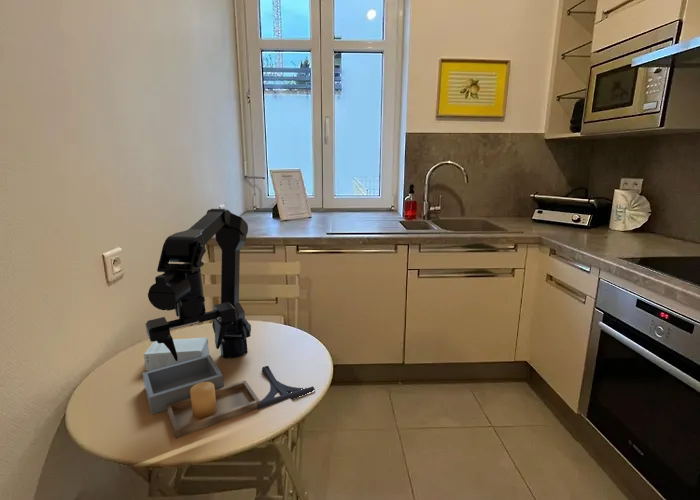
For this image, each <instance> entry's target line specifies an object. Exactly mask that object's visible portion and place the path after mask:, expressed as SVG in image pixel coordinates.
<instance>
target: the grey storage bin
mask: <svg viewBox="0 0 700 500" xmlns="http://www.w3.org/2000/svg"><path fill="white" fill-rule="evenodd" d="M142 378H143V385H144V392H145V393H146V398H147V403H148V406H149V410H150V413H151V415H155V414H158V413H162V412H164V411H167V408H166V405H169V404H172V403H176V402H179V401H182V400H185V399H188V398H191V394H190V389H191V388H192V387H193V386H194V385H196V384H198V383H201V382H211V383H213V384H214V387H215V390H216V389H219V388H223V387H225V385H224V384H225V383H224V375H223V374H222V372H221V370H220V368H219V367H218V365H217V364H216V362H215V360H214V359H213V357H212V356H211V354H209V355H206V356H203V357H199V358H195V359H192V360H188V361H184V362H181V363H177V364H173V365H170V366H166V367H162V368H159V369H155V370H151V371H144V372H142Z"/></svg>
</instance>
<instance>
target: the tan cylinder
mask: <svg viewBox="0 0 700 500" xmlns="http://www.w3.org/2000/svg"><path fill="white" fill-rule="evenodd" d="M190 394H191V403H192V411H193V417H194V418H196V419H199V420H201V419H204V418H207V417H210V416H213V415H214V414H215V413H216V412H217V406H216V397H215V387H214V384H213V383H211V382H201V383H198V384H196V385H194V386H193V387H192V388H191V389H190Z"/></svg>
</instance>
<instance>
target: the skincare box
mask: <svg viewBox="0 0 700 500" xmlns="http://www.w3.org/2000/svg"><path fill="white" fill-rule="evenodd" d="M208 339H209V338H208V337H207V336H206V337H191V338H177V339H176V338H175V339H173V342H174V345H175V349H176V353H177V356H178V361H176V360H175V359H174V357H173V355H172V354H171V352H170V350H169V349H168V348H167V347H166V346H165V344H164V343H160V344H159V343H157V341H155V342H152V343H151V345H150V346H149V347H148V348H147V350H146V351H145V352H144V354H143V358H144V359H143V360H144V368H145V369H144V370H145V372H148V371H151V370H155V369H159V368H162V367H166V366H170V365H173V364H177V363H181V362H184V361H188V360H192V359H195V358H199V357H203V356H206V355H210V348H209V340H208Z"/></svg>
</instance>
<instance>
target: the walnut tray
mask: <svg viewBox="0 0 700 500" xmlns="http://www.w3.org/2000/svg"><path fill="white" fill-rule="evenodd" d="M215 397H216V406H217V412H216V413H215V414H214V415H213V416H210V417H207V418H204V419H201V420H199V419H196V418H194V417H193V411H192V403H191V398H188V399H185V400H182V401H179V402H176V403H172V404H169V405H166V408H167V410H166V413H167V417H168V419H169V422H170V426H171V429H172V432H173V435H174V437H175V438H174V439H178V438H181V437H184V436H187V435H189V434H192V433H196V432H199V431H200V430H204V429H207V428H209V427H211V426H215V425H217V424H220V423H224V422H226V421H229V420H231V419H233V418H236V417H240V416H242V415H245V414H247V413H250V412H253V411H255V410H258V405H259V404H260V401H261V400H260V399H259V398H258V395H257V394H256V393H255V391H254V390H253V389H252V387H251V386H250V385H249V383H248V381H247V380H242V381H239V382H236V383H232V384H229V385H226V386H224V387H223V388H219V389H216V390H215Z"/></svg>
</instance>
